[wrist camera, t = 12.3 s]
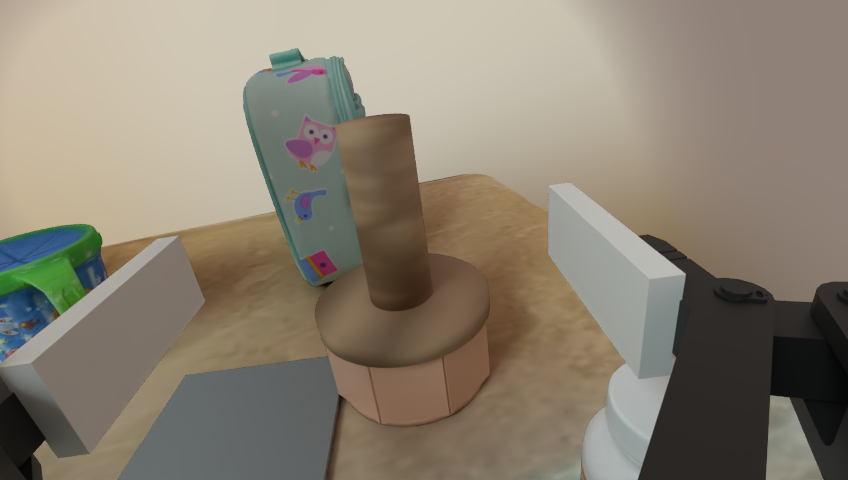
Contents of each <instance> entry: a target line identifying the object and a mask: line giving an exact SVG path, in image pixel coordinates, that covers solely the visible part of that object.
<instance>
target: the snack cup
mask: <svg viewBox="0 0 848 480" xmlns="http://www.w3.org/2000/svg"><path fill="white" fill-rule="evenodd" d="M101 245H102V237H101V235H100V233H97V231H96V230H95V228H94V227H93V226H90V225H86V224H74V225H64V226H57V227H52V228H47V229H42V230H37V231H33V232H29V233H25V234H21V235H17V236H14V237H11V238H7V239H4V240H1V241H0V363H2V362H3V361H4V360H5V359H7V358H8V357H9V356H10V355H12V354H13V353H14V352H15V351H17V350H18V349H19V348H20V347H22V346H23V345H24V344H25V343H27V342H28V341H29V340H30V339H32V338H33V337H34V336H36V335H37V334H38V333H39V332H41V331H42V330H43V329H44V328H46V327H47V326H48V325H49V324H51V323H52V322H53V321H54V320H56V319H57V318H58V317H59V316H61V315H62V314H63V313H64V312H66V311H67V310H68V309H69V308H71V307H72V306H73V305H75V304H76V303H77V302H78V301H80V300H81V299H82V298H83V297H85V296H86V295H87V294H88V293H90V292H91V291H92V290H93V289H95V288H96V287H97V286H98V285H100V284H101V283H102V282H103V281H105V280H106V279H107V278H108V276H107V272H106V269H105V267H104V263H103V261H102V259H101Z"/></svg>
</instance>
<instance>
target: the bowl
mask: <svg viewBox="0 0 848 480" xmlns="http://www.w3.org/2000/svg"><path fill="white" fill-rule="evenodd" d="M326 349H327V353H328V357H329V360H330V364H331V368H332V371H333V375H334V378H335V382H336V386H337V389H338V393H339V395H341V396H342V397H344V398H345V399H346V400H348V402H349V403H350V405H351V406H352V407H353V408H354V409H355V410H356V411H357V412H358V413H359V414H361V415H362V416H364V417H366V418H367V419H370V420H372V421H374V422H377V423H381V424H385V425H391V426H418V425H423V424H428V423H432V422H435V421H438V420H441V419H443V418H446V417H448V416H450V415H452V414H453V413H455V412H457V411H458V410H460V409H461V408H463V407H464V406H465V405H467V404H468V403H469V402H470V401H471V400H472V399H473V398H474V396H475V395H476V394H477V393H478V391H479V390H480V388H481V386H482V384H483V382H484V380H485V379H486V378H487V377H488V376H489V375H490V363H489V349H488V336H487V322H485V324H484V326H483V327H482V329H481V330H480V331H479V332H478V333H477V335H476V336H475V337H474V338H473V339H471V340H470V341H469V342H468V343H466V344H465V345H464V346H462V347H460V348H459V349H457V350H456V351H454V352H452V353H450V354H447V355H445V356H443V357H441V358H438V359H435V360H433V361H429V362H426V363H422V364H418V365H412V366H407V367H397V368H375V367H366V366H361V365H357V364H353V363H350V362H348V361H345V360H343V359H341V358H339V357H337V356H336V355H334V354H333V353H332V352H330V351H329V350H328V348H327V347H326Z"/></svg>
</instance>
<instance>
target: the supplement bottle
mask: <svg viewBox="0 0 848 480" xmlns="http://www.w3.org/2000/svg"><path fill="white" fill-rule="evenodd" d="M675 360H676V359H675V358H673V361H672V368H671V373H672V369H673V366H674V363H675ZM670 376H671V374H670V375H668V376H661V377H653V378H646V379H638V378H637V377H636V376H635V374H634V373H633V371H632V370H631V369H630V367H629V366H628V365H627V363H625V364H624V365H622V366H620V367H619V368H618V369H617V370H616V371H615V372H614V374H613V375H612V377H611V379H610V382H609V386H608V393H607V400H606V406H605V407H603V408H602V409H601V410H599V411H598V412H597V413H596V414H595V415H594V417H593V418H592V419H591V421H590V423H589V425H588V426H587V429H586V432H585V435H584V439H583V447H582V458H581V480H638V477H639V474H640V471H641V467H642V464H643V461H644V458H645V455H646V452H647V448H648V445H649V442H650V439H651V436H652V433H653V429H654V426H655V423H656V420H657V417H658V414H659V410H660V407H661V404H662V401H663V398H664V395H665V392H666V388H667V385H668V382H669V379H670Z"/></svg>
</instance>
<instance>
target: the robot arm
mask: <svg viewBox="0 0 848 480" xmlns="http://www.w3.org/2000/svg"><path fill="white" fill-rule="evenodd" d="M548 255H549V256H550V258H551V259H552V260H553V262H554V263H555V265H556V266H557V267H558V269H559V270H560V272H561V273H562V274H563V276H564V277H565V279H566V280H567V281H568V283H569V284H570V285H571V287H572V288H573V290H574V291H575V292H576V294H577V295H578V297H579V298H580V299H581V301H582V302H583V304H584V305H585V306H586V308H587V309H588V310H589V312H590V313H591V315H592V316H593V317H594V319H595V320H596V322H597V323H598V324H599V326H600V327H601V328H602V330H603V331H604V333H605V334H606V335H607V337H608V338H609V340H610V341H611V342H612V344H613V345H614V347H615V348H616V349H617V351H618V352H619V353H620V355H621V356H622V358H623V359H624V360H625V362H626V363H627V365H628V366H629V367H630V369H631V370H632V371H633V373H634V374H635V376H636V377H637V378H638V379H646V378H653V377H661V376H668V375H670V374H671V376H670V379H669V382H668V385H667V388H666V392H665V395H664V398H663V401H662V404H661V407H660V410H659V414H658V417H657V420H656V423H655V426H654V429H653V433H652V436H651V439H650V442H649V445H648V448H647V452H646V455H645V458H644V461H643V464H642V467H641V471H640V474H639V477H638V480H766V463H767V444H768V426H769V407H770V395H773V396H783V397H789V398H790V400H791V402H792V405H793V407H794V410H795V412H796V414H797V417H798V419H799V422H800V424H801V426H802V429H803V431H804V434H805V436H806V438H807V441H808V443H809V445H810V448H811V450H812V453H813V455H814V457H815V460H816V462H817V465H818V467H819V469H820V472H821V474H822V477H823V479H824V480H848V282H829V283H825V284H822V285H820V286H819V287H818V288H817V290H816V293H815V296H814V299H813V302H793V301H792V302H791V301H776V300H774V298H773V296H772V294H771V293H769V292H768V291H767V290H766V289H764V288H762V287H760V286H758V285H755V284H753V283H750V282H746V281H742V280H739V279H730V278H715V277H714V276H712V275H711V274H710V273H709V272H707V271H706V270H704V269H703V268H702V267H700V266H699V265H697V264H696V263H695V262H693V261H692V260H691V259H687V257H686V256H685V255H684V254H682V253H681V252H680V251H679V252H678V251H677V249H676V248H674V247H672V246H671V245H670V244H669V243H667V242H666V241H664V240H661V239H658V238H656V237H653V236H650V235H642V236H637V235H636V234H634V233H633V232H632V231H631V230H629V229H628V228H627V227H626V226H624V225H623V224H622V223H620V222H619V221H618V220H617V219H616V218H614V217H613V216H612V215H610V214H609V213H608V212H607V211H605V210H604V209H603V208H601V207H600V206H599V205H598V204H597V203H595V202H594V201H593V200H591V199H590V198H589V197H588V196H586V195H585V194H584V193H583V192H581V191H580V190H579V189H578V188H576V187H575V186H574V185H573V184H571V183H570V182H569V183H562V184H555V185H549V186H548ZM204 303H205V299H204V297H203V294H202V292H201V289H200V287H199V284H198V282H197V279H196V277H195V274H194V272H193V269H192V267H191V264H190V262H189V259H188V257H187V254H186V252H185V249H184V247H183V244H182V242H181V240H180V237H179V236H173V237H165V238H158V239H156V240H155V241H154V242H153V243H151V244H150V245H149V246H147V247H146V248H145V249H144V250H142V251H141V252H140V253H139V254H137V255H136V256H135V257H134V258H132V259H131V260H130V261H129V262H127V263H126V264H125V265H124V266H122V267H121V268H120V269H119V270H117V271H116V272H115V273H114V274H112V275H111V276H110V277H108V278H107V279H106V280H105V281H103V282H102V283H101V284H100V285H98V286H97V287H96V288H95V289H93V290H92V291H91V292H90V293H88V294H87V295H86V296H85V297H83V298H82V299H81V300H80V301H78V302H77V303H76V304H75V305H73V306H72V307H71V308H69V309H68V310H67V311H66V312H64V313H63V314H62V315H61V316H59V317H58V318H57V319H56V320H54V321H53V322H52V323H51V324H49V325H48V326H47V327H46V328H44V329H43V330H42V331H41V332H39V333H38V334H37V335H36V336H34V337H33V338H32V339H30V340H29V341H28V342H27V343H25V344H24V345H23V346H22V347H20V348H19V349H18V350H17V351H15V352H14V353H13V354H12V355H10V356H9V357H8V358H7V359H5V360H4V361H3V362H2V363H0V480H42V470H41V464H40V463H39V461H38V460H37V459H36V457H35V456H34V455H33V453H34V452H35V451H36V450H37V448H38V447H39V446H40V445H41V444H42V443H43V442H44V441H45V440H46V442H47V443H48V445H49V446H50V448H51V449H52V450H53V452H54V453H55V455H56V456H57V458H62V457H69V456H77V455H84V454H90V453H91V451H92V450H93V449H94V447H95V446H96V445H97V444H98V442H99V441H100V440H101V438H102V437H103V436H104V434H105V433H106V432H107V430H108V429H109V428H110V426H111V425H112V424H113V422H114V421H115V420H116V419H117V417H118V416H119V415H120V413H121V412H122V411H123V409H124V408H125V407H126V405H127V404H128V403H129V401H130V400H131V399H132V397H133V396H134V395H135V393H136V392H137V391H138V390H139V388H140V387H141V386H142V384H143V383H144V382H145V380H146V379H147V378H148V376H149V375H150V374H151V372H152V371H153V370H154V368H155V367H156V366H157V365H158V363H159V362H160V361H161V359H162V358H163V357H164V355H165V354H166V353H167V351H168V350H169V349H170V347H171V346H172V345H173V343H174V342H175V341H176V339H177V338H178V337H179V336H180V334H181V333H182V332H183V330H184V329H185V328H186V326H187V325H188V324H189V322H190V321H191V320H192V318H193V317H194V316H195V314H196V313H197V312H198V310H199V309H200V308H201V307H202V305H203V304H204ZM673 355H675V357H676V360H675V363H674V366H673V369H672V373H671V368H672V361H673Z"/></svg>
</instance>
